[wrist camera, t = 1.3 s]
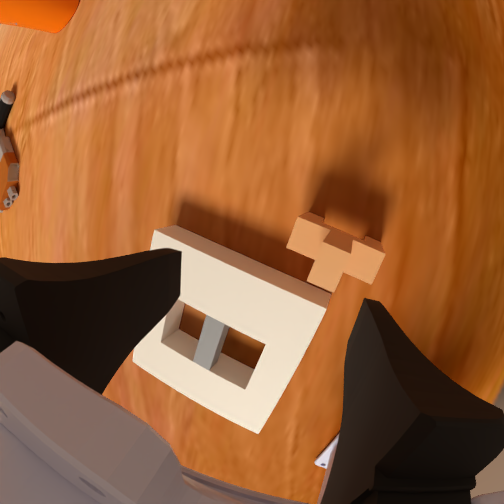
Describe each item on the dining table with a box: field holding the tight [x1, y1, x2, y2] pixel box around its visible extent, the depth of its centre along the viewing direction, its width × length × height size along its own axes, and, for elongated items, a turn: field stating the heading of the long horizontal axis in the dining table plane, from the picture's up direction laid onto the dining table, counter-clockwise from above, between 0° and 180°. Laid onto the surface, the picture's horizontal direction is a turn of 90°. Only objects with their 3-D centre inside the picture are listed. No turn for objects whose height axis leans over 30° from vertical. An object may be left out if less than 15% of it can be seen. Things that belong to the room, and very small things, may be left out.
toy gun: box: [0, 90, 19, 213], centre depth 34 cm, size 3×19×15 cm
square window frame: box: [133, 225, 331, 434], centre depth 24 cm, size 14×14×3 cm
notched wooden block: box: [286, 212, 385, 293], centre depth 17 cm, size 6×2×8 cm, turn 71°
